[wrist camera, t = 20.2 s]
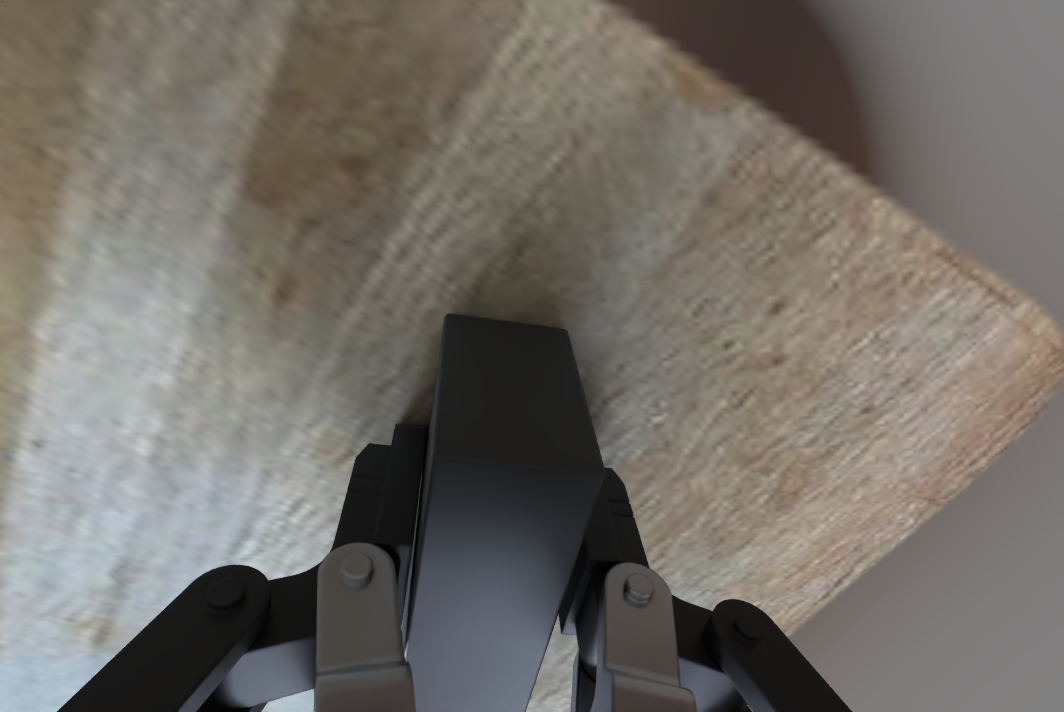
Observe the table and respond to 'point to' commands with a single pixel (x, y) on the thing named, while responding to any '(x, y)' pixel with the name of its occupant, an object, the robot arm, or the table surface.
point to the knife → (497, 513)
